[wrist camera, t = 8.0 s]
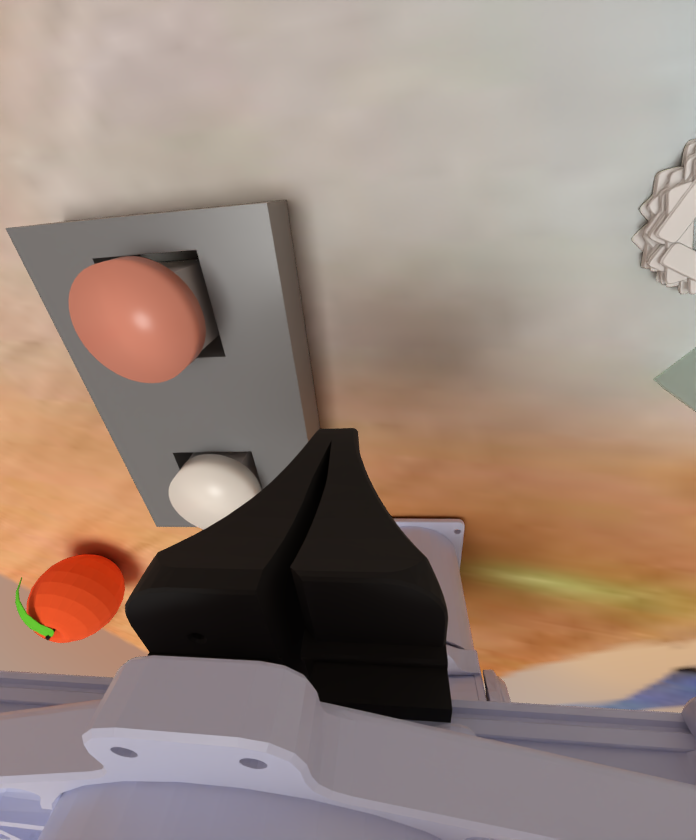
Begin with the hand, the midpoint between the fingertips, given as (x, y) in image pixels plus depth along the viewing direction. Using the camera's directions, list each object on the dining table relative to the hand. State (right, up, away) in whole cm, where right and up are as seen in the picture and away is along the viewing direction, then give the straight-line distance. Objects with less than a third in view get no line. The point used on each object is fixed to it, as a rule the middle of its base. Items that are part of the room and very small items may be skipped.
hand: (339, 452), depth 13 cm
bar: (-8, +4, +11) cm, 14 cm away
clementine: (-23, -12, +23) cm, 34 cm away
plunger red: (-8, +8, +7) cm, 13 cm away
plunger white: (-7, -1, +14) cm, 16 cm away
